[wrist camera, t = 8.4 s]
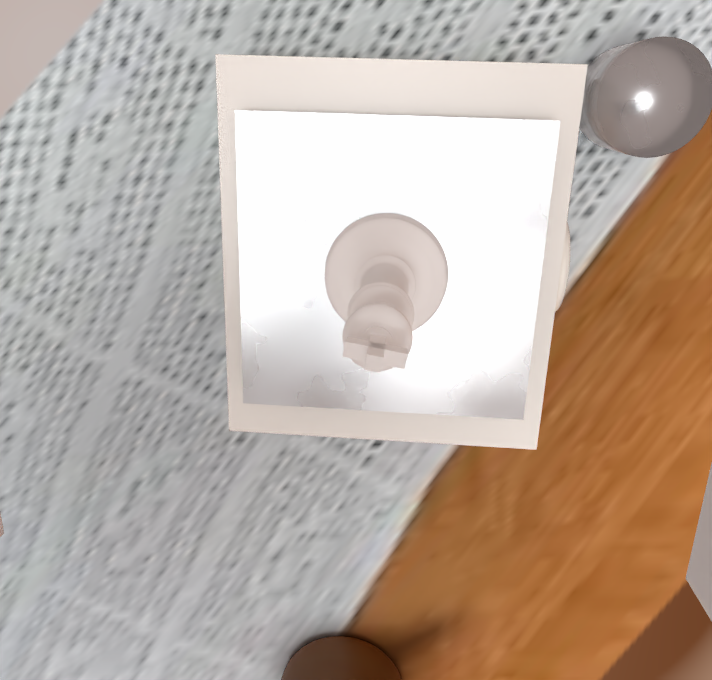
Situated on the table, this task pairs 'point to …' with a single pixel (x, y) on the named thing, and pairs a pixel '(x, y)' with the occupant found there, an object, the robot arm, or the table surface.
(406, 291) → the chess piece
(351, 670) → the mug
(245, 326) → the textured square plate
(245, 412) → the scale
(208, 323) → the table surface
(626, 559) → the table surface
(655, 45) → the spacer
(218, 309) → the table surface
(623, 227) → the table surface
